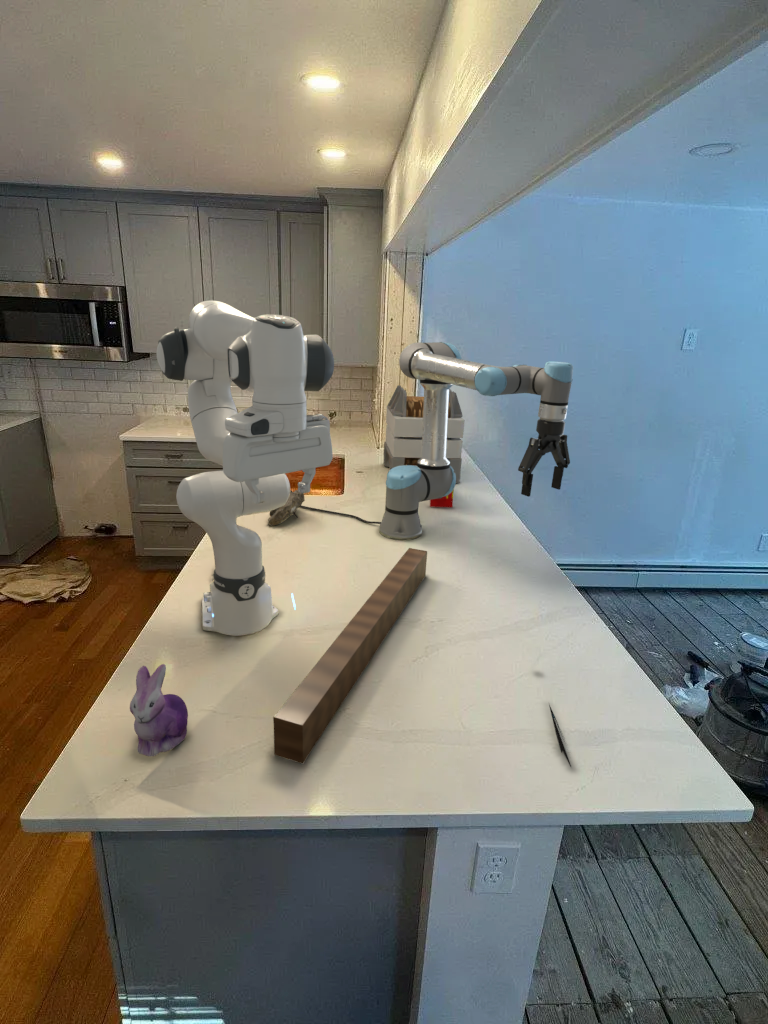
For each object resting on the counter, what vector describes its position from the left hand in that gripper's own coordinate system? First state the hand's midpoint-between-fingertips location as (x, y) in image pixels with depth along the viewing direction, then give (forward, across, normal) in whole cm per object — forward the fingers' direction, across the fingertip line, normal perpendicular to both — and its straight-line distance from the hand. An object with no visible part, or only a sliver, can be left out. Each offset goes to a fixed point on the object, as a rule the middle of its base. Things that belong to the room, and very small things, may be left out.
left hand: (282, 497), depth 99 cm
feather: (+43, -37, +37) cm, 68 cm away
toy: (+42, -124, -69) cm, 148 cm away
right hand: (+16, -91, -2) cm, 92 cm away
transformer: (+41, -145, -99) cm, 180 cm away
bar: (+43, -27, -5) cm, 51 cm away
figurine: (+43, +23, -6) cm, 49 cm away
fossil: (+42, -60, -86) cm, 113 cm away
